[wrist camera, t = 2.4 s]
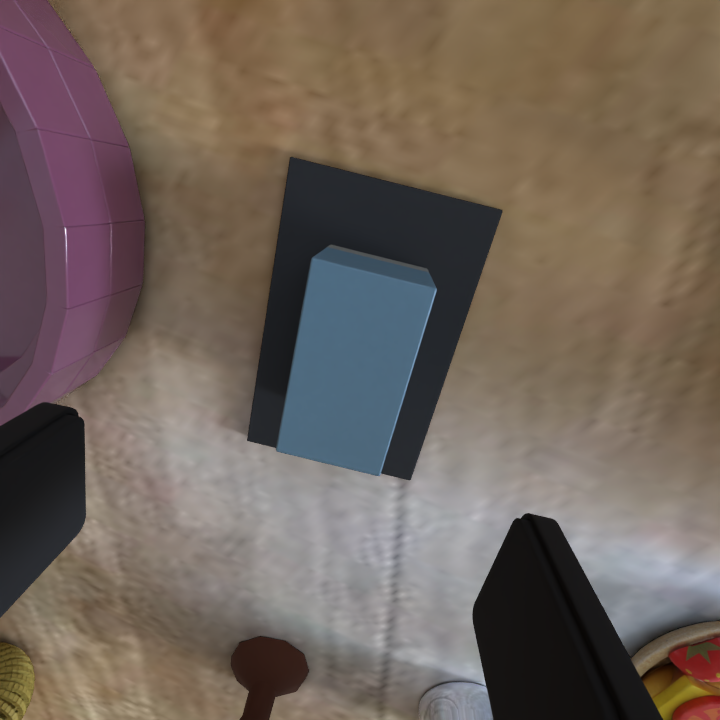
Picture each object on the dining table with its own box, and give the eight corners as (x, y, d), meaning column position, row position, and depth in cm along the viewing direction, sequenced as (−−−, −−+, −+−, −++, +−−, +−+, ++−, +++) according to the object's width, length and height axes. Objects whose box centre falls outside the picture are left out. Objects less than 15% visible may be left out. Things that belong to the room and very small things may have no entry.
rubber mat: (292, 157, 17) (289, 156, 17) (500, 210, 17) (503, 210, 17) (249, 436, 22) (246, 441, 22) (410, 476, 22) (410, 480, 22)
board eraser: (330, 244, 18) (311, 257, 14) (427, 268, 18) (437, 288, 14) (298, 402, 21) (275, 451, 17) (382, 423, 21) (380, 477, 17)
